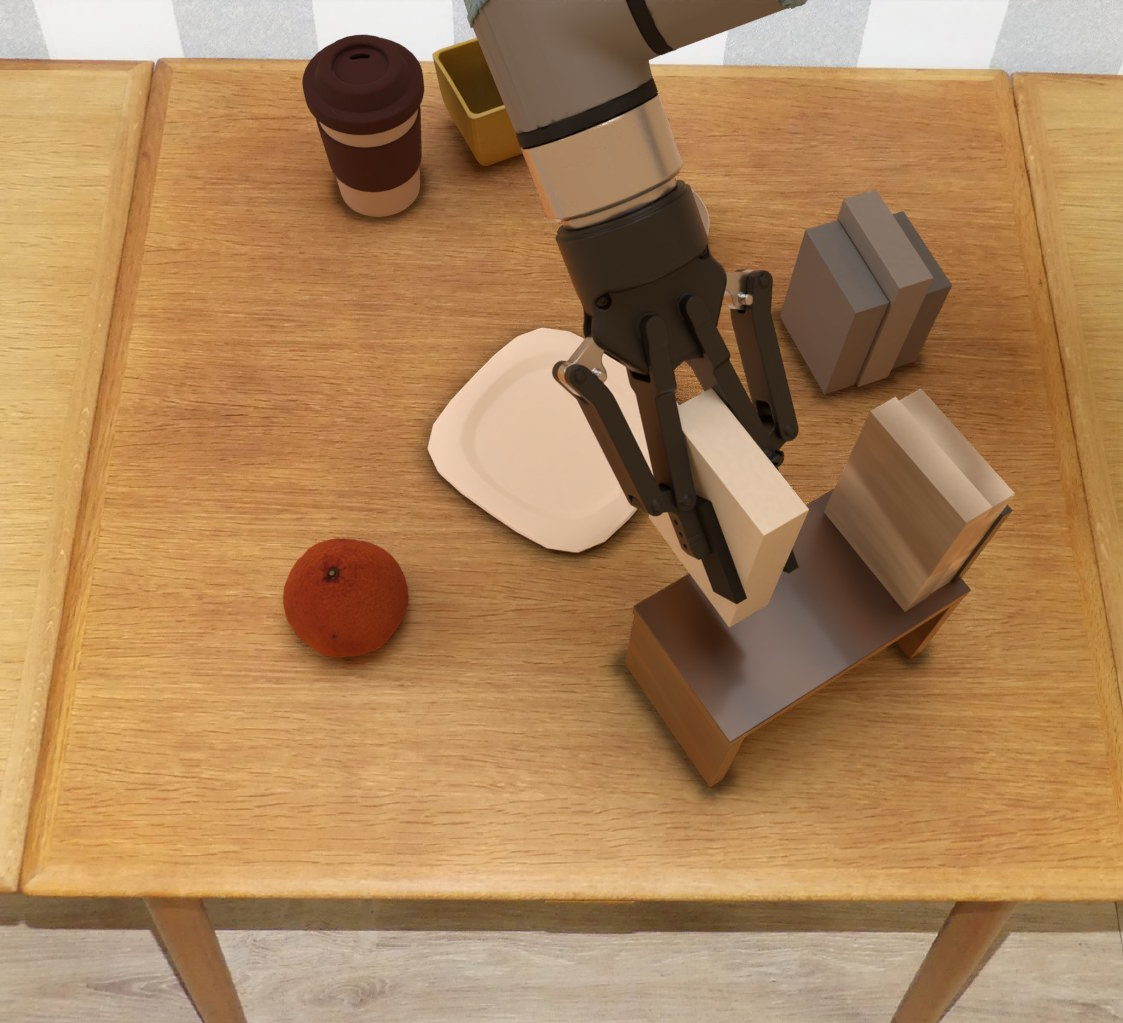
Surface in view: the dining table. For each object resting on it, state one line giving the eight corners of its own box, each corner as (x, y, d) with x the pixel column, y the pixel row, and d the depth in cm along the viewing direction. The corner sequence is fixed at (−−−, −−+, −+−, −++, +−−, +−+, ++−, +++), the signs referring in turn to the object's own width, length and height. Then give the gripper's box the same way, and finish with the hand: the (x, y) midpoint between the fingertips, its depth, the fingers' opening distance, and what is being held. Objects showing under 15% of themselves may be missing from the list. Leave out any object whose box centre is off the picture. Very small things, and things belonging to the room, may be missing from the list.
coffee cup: (402, 247, 110) (383, 123, 96) (306, 209, 111) (275, 82, 98) (453, 171, 114) (442, 43, 100) (360, 136, 115) (337, 5, 102)
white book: (648, 517, 79) (667, 410, 67) (686, 496, 80) (711, 387, 68) (729, 627, 76) (764, 535, 64) (768, 604, 76) (809, 509, 65)
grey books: (776, 318, 107) (808, 209, 94) (867, 289, 108) (910, 179, 96) (824, 401, 103) (863, 300, 90) (917, 370, 104) (968, 266, 92)
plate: (402, 460, 100) (400, 450, 98) (538, 317, 106) (538, 305, 105) (580, 585, 95) (581, 576, 93) (711, 426, 101) (713, 416, 100)
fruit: (276, 655, 92) (254, 614, 85) (318, 552, 96) (301, 505, 88) (388, 686, 91) (376, 647, 84) (426, 580, 95) (417, 535, 88)
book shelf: (832, 541, 97) (921, 361, 74) (921, 652, 93) (1044, 497, 70) (621, 667, 92) (649, 515, 69) (706, 791, 88) (764, 671, 65)
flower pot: (560, 160, 115) (562, 87, 107) (475, 191, 113) (470, 118, 105) (520, 98, 118) (519, 22, 110) (437, 126, 116) (429, 51, 108)
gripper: (708, 145, 69) (826, 503, 78) (461, 263, 65) (614, 627, 73) (781, 137, 62) (902, 530, 71) (510, 267, 58) (673, 668, 67)
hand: (755, 579), depth 72 cm, fingers closed on white book, 3 cm apart
